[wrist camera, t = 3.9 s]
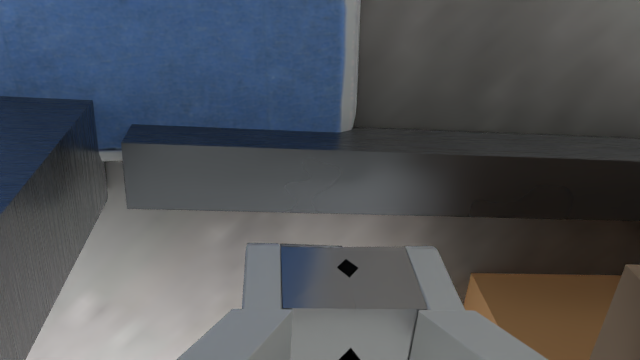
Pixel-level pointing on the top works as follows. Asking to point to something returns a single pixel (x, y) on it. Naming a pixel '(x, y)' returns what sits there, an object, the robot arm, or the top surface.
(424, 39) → the top surface
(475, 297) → the orange block
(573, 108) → the top surface
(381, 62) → the top surface
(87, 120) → the grey u-shaped bracket
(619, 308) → the walnut shelf
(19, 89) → the blue flat slab
